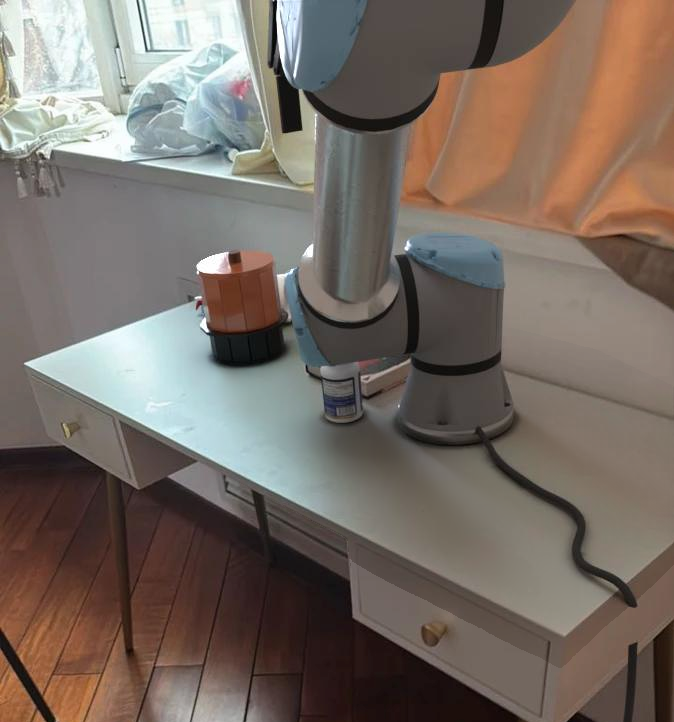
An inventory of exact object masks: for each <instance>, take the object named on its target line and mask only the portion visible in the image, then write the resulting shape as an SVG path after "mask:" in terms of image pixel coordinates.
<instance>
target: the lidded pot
mask: <svg viewBox="0 0 674 722" xmlns="http://www.w3.org/2000/svg"><path fill="white" fill-rule="evenodd" d="M274 258H275V257H274V256H273V254H271V253H269V252H268V251H263V250H239V249H232V250H229V251H227V252H223V253H219V254H215V255H212V256H209V257H207V258H205V259H203V260H201V261H200V262H198V264H197V265H196V270H197V271H196V277H197V282H198V287H199V288H198V289H199V294H200V293H201V296H200V297H201V299H202V305H203V310H204V313H203V315H204V318H205V321H206V325H207V326H208V327H209V328H210V329H211V330H214V331H220V332H225V333H227V332H228V333H236V332H249V331H253V330H257V329H261V328H265V327H268V326H270V325H271V324H273V323H275V322H277V321H278V320H279V319H280V317H281V314H282V312H281V304H280V296H279V288H278V280H277V275H278V273H277V272H278V271H277V265H276V264H277V263H276V261H275V259H274Z"/></svg>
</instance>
